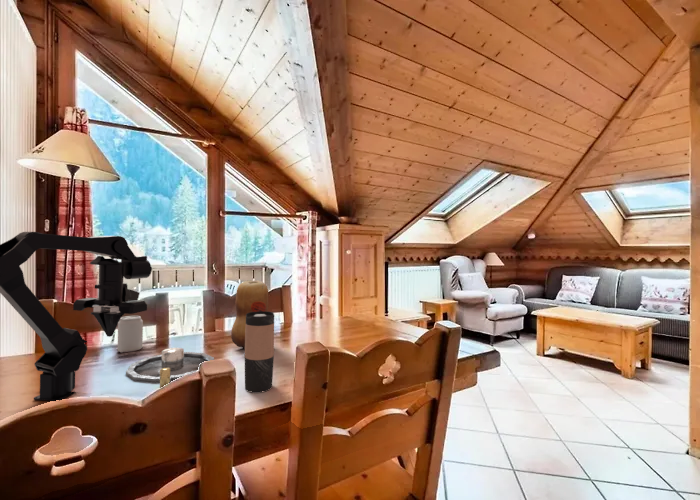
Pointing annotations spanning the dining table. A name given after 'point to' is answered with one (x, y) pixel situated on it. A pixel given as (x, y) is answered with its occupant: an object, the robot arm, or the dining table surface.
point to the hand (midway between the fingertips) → (109, 336)
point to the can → (130, 333)
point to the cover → (172, 358)
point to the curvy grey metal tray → (152, 369)
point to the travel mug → (259, 351)
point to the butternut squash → (248, 307)
